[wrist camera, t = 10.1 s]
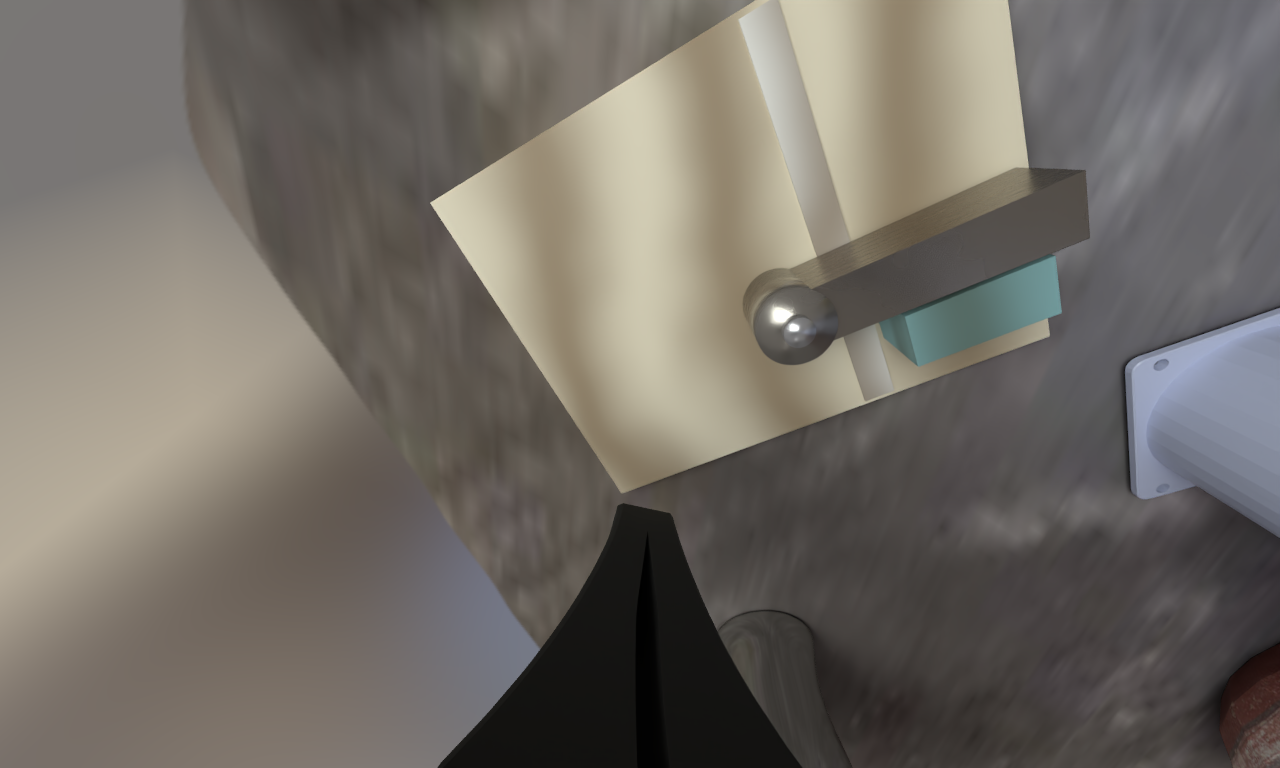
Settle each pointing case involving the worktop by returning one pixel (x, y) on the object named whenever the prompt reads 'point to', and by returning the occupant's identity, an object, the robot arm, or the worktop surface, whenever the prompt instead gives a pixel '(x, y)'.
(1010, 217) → the swing bar
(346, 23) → the worktop surface
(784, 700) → the beer glass
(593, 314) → the board
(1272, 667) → the pottery
